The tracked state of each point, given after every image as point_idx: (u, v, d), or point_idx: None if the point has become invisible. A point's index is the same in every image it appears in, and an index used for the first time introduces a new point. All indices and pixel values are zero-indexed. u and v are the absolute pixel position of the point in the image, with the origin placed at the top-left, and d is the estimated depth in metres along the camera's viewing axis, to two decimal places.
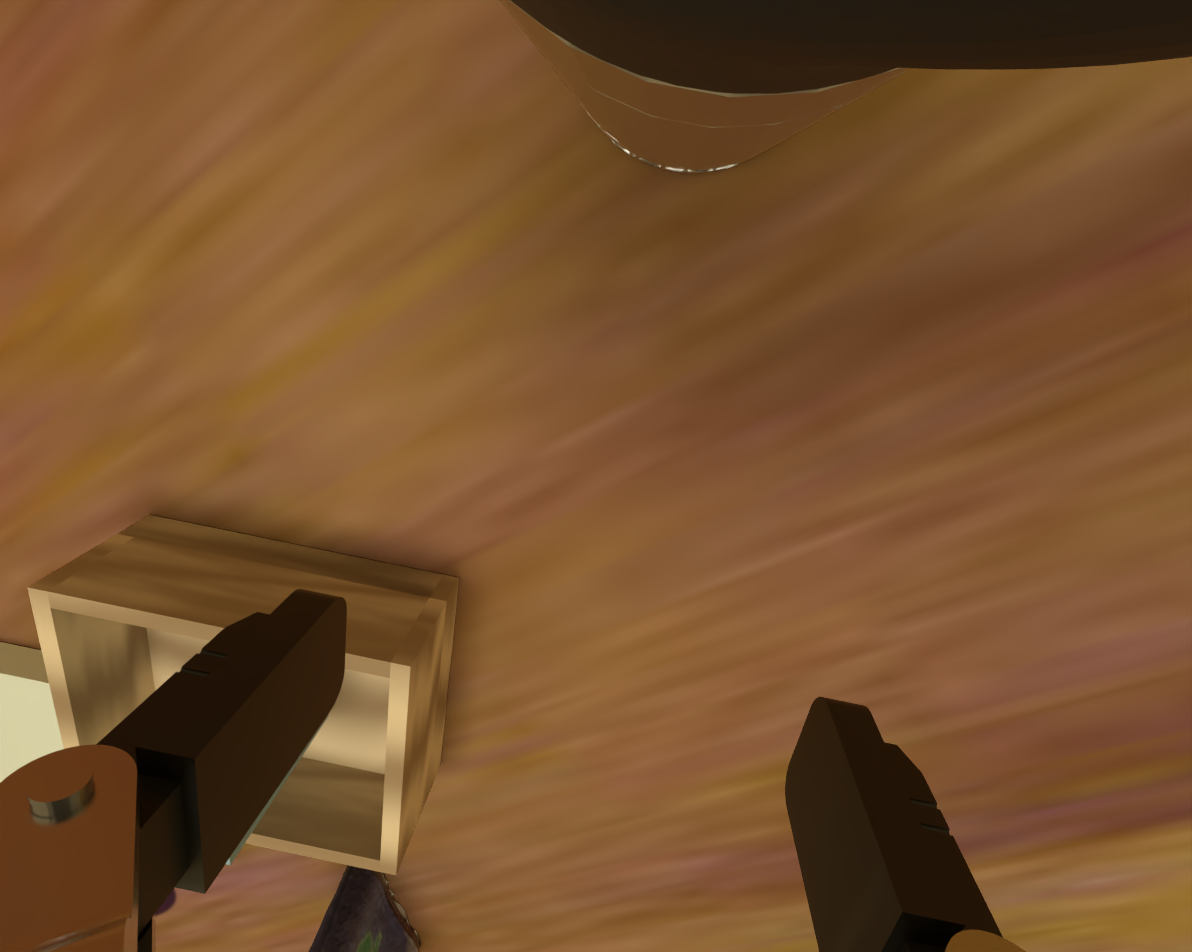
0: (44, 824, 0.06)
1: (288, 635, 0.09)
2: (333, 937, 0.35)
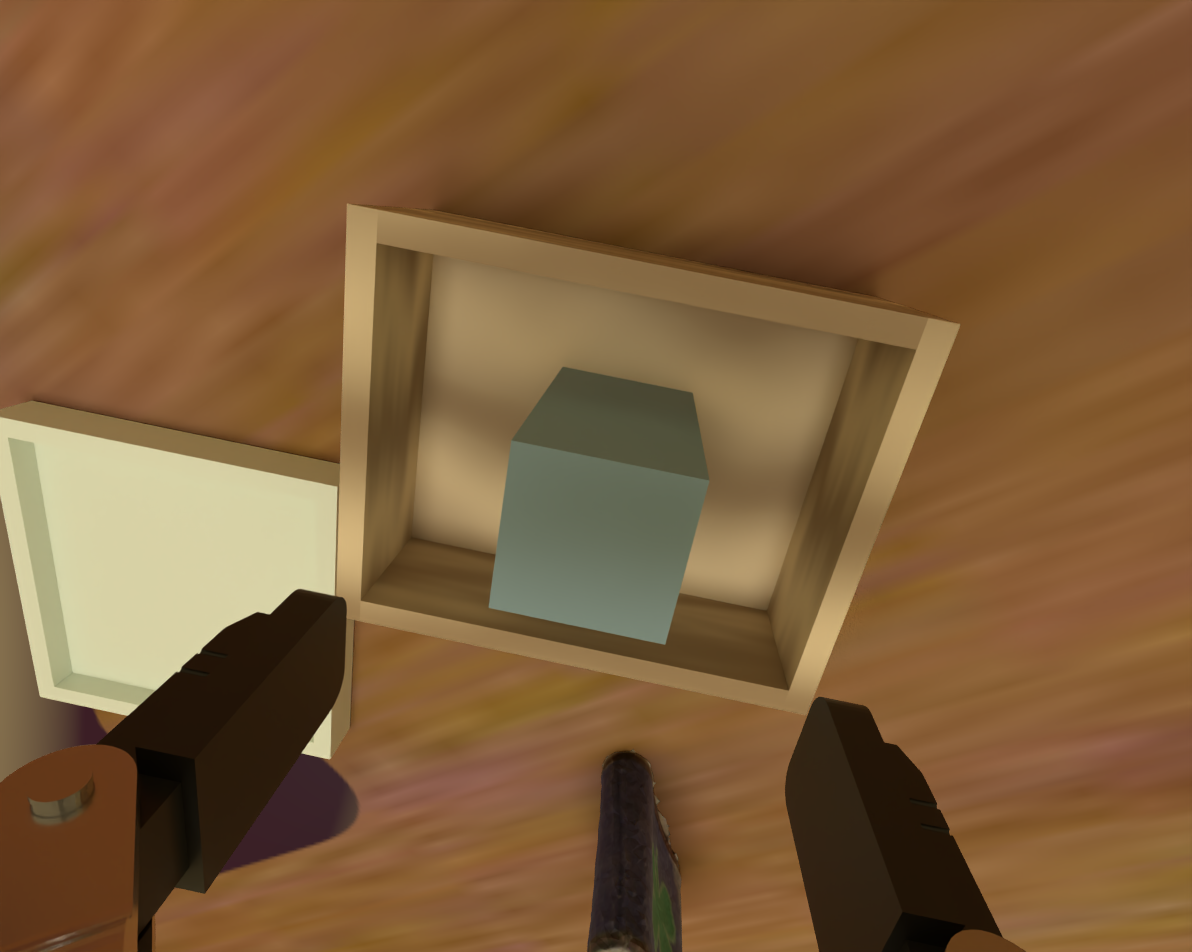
0: (44, 824, 0.06)
1: (288, 635, 0.09)
2: (631, 838, 0.26)
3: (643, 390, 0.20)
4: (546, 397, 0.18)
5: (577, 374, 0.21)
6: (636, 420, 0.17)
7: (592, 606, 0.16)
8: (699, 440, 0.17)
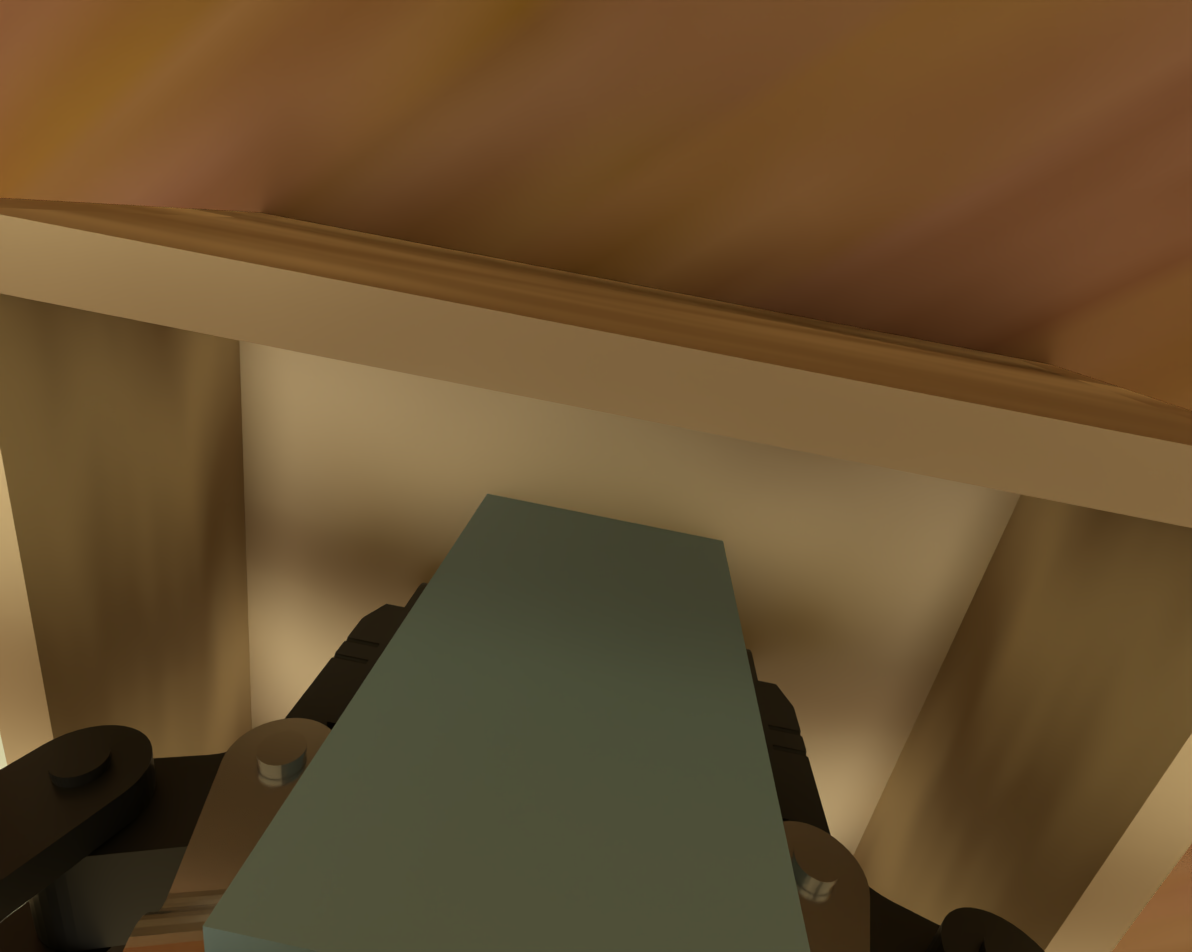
0: (277, 786, 0.07)
1: None
2: None
3: (632, 549, 0.11)
4: (417, 616, 0.08)
5: (510, 514, 0.11)
6: (613, 681, 0.08)
7: None
8: (762, 752, 0.07)
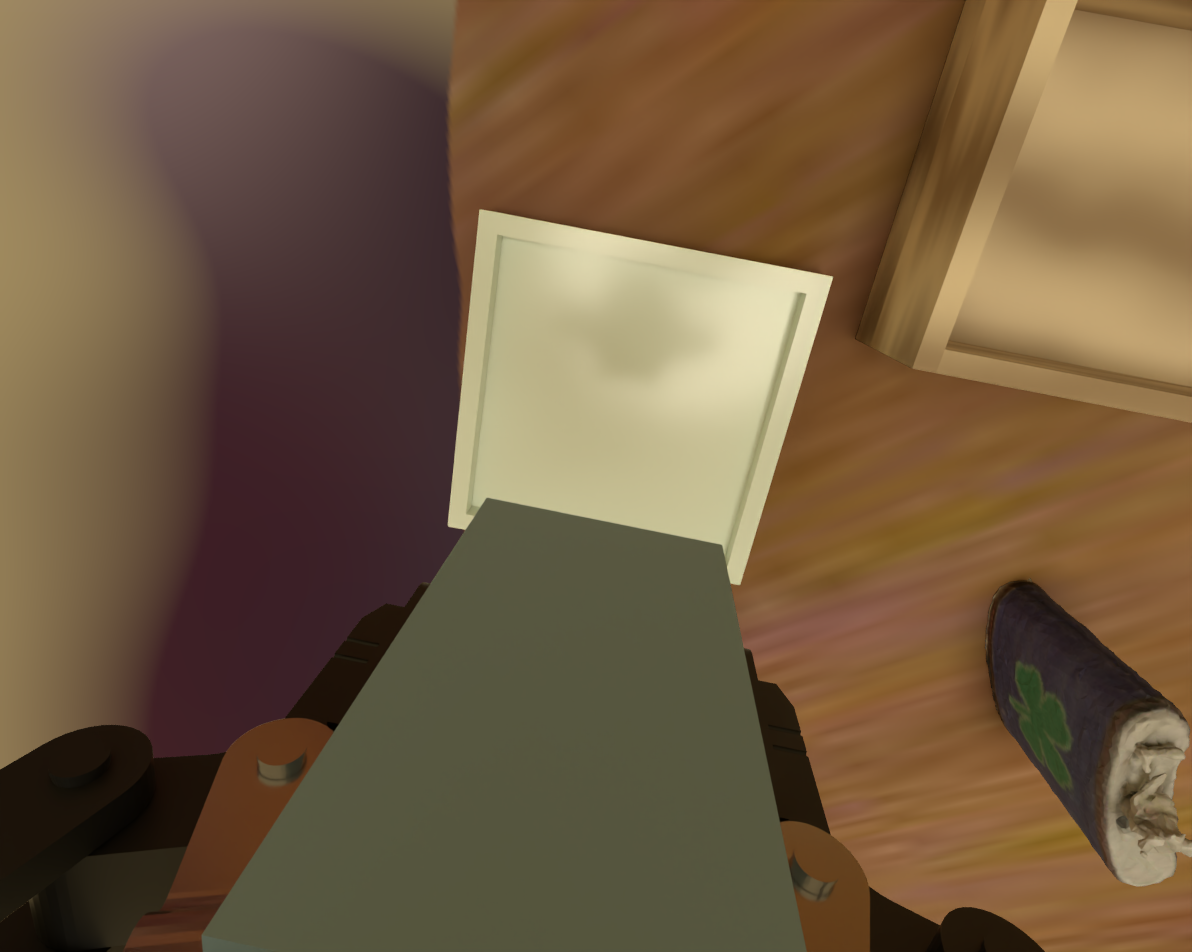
0: (276, 786, 0.07)
1: None
2: (1093, 637, 0.26)
3: (632, 553, 0.11)
4: (416, 622, 0.08)
5: (509, 518, 0.11)
6: (612, 687, 0.08)
7: None
8: (761, 759, 0.07)
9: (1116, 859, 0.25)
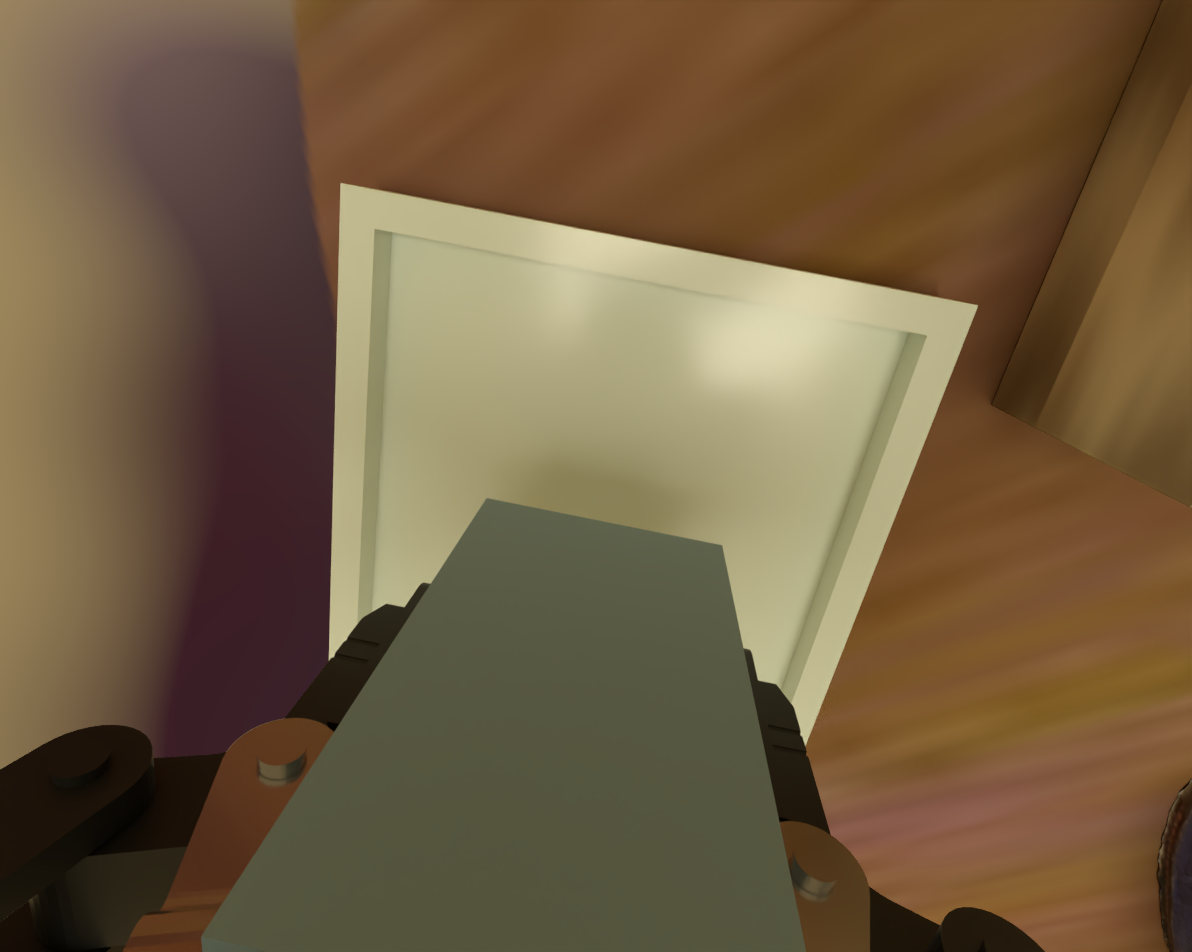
0: (277, 786, 0.07)
1: None
2: None
3: (631, 553, 0.11)
4: (416, 623, 0.08)
5: (509, 519, 0.11)
6: (612, 687, 0.08)
7: None
8: (760, 759, 0.07)
9: None
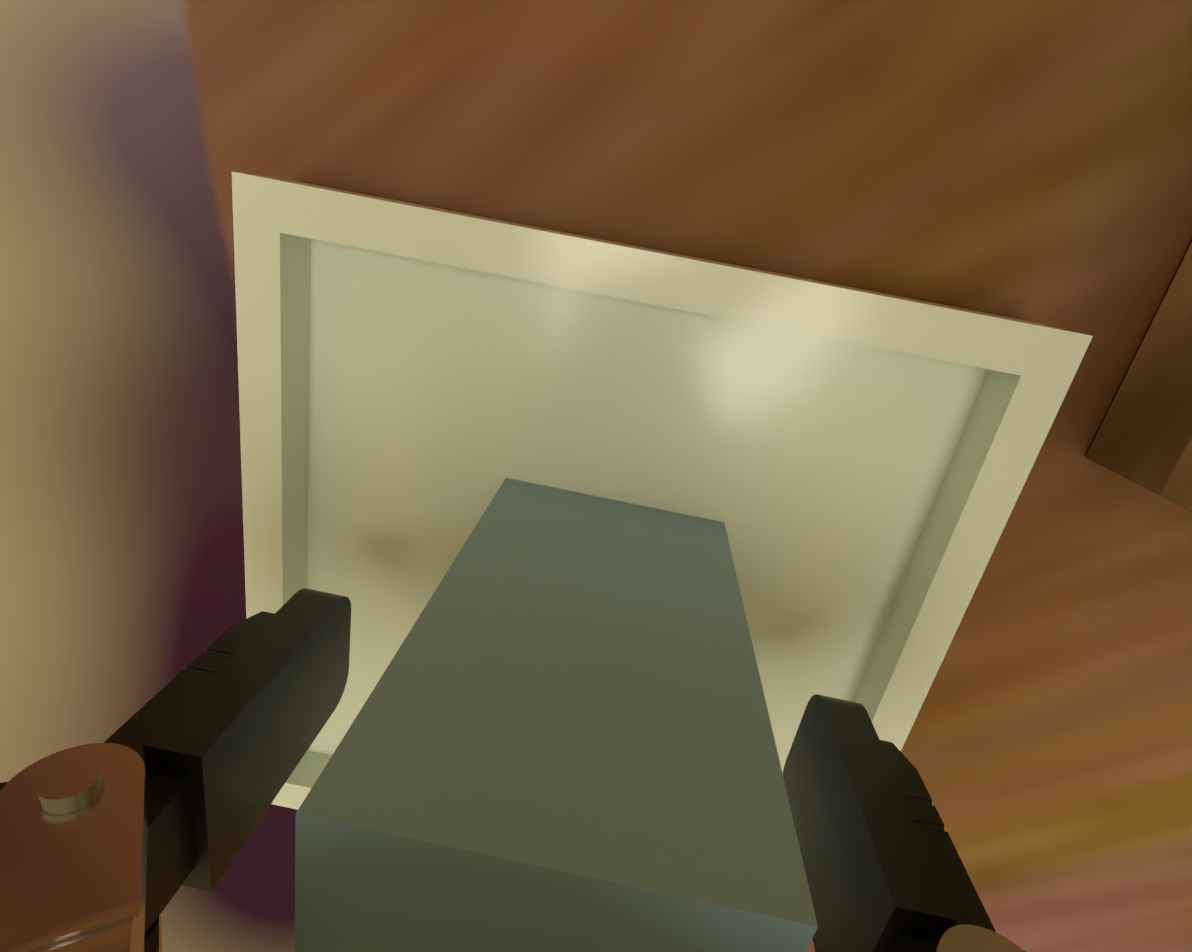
0: (53, 822, 0.06)
1: (293, 634, 0.09)
2: None
3: (641, 528, 0.12)
4: (451, 581, 0.09)
5: (528, 496, 0.12)
6: (627, 637, 0.09)
7: None
8: (759, 697, 0.08)
9: None
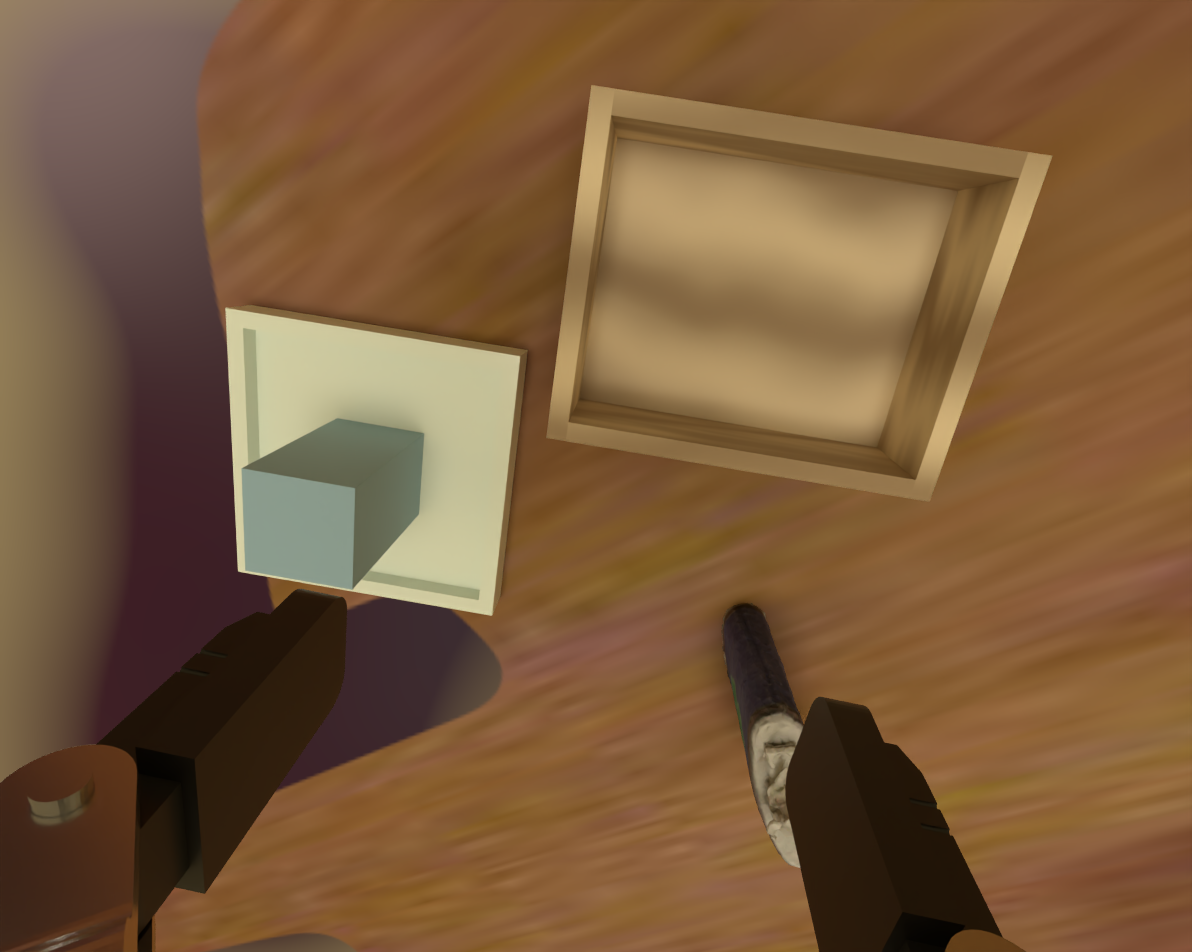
0: (44, 824, 0.06)
1: (288, 635, 0.09)
2: (767, 653, 0.30)
3: (383, 433, 0.31)
4: (297, 440, 0.28)
5: (342, 423, 0.31)
6: (349, 453, 0.28)
7: (305, 567, 0.26)
8: (382, 465, 0.27)
9: (778, 845, 0.29)
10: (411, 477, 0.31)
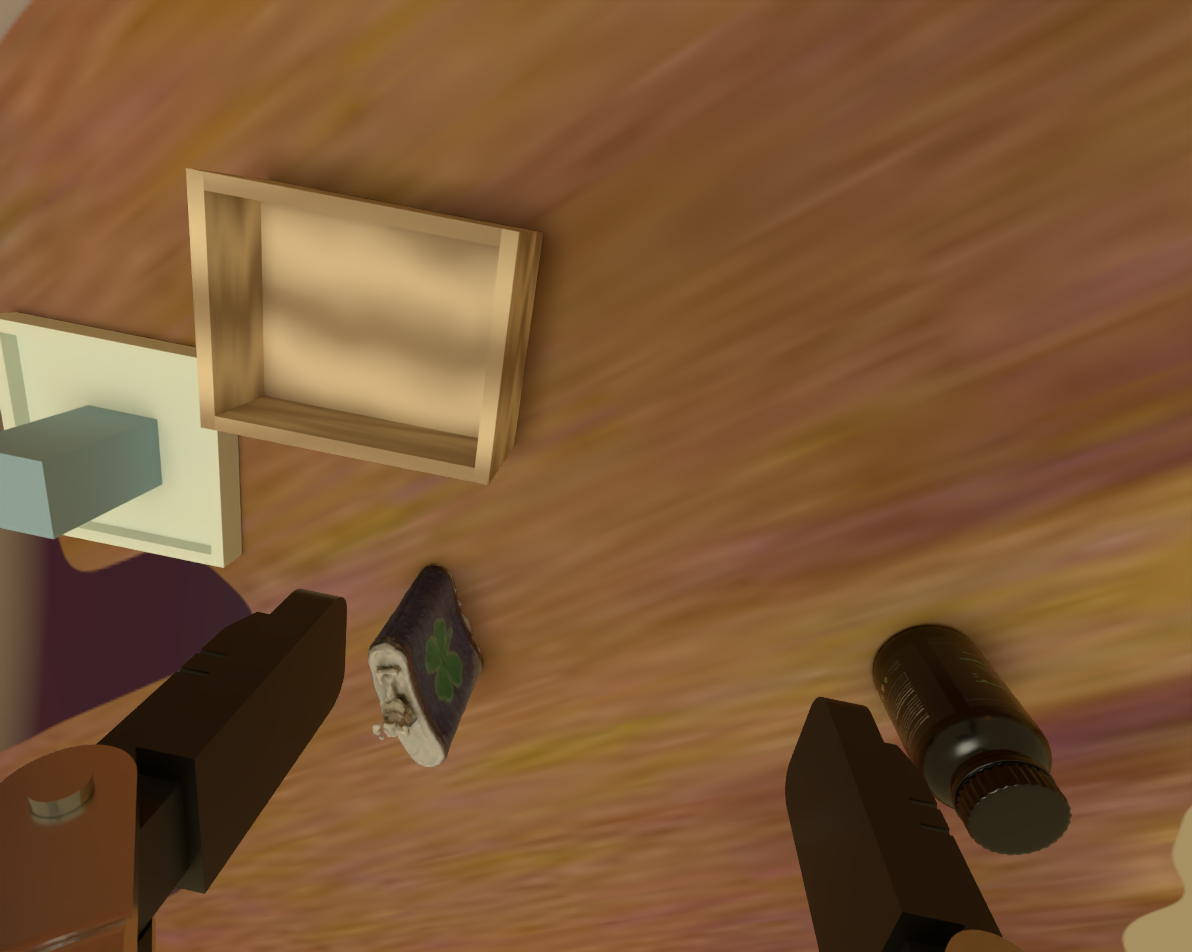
0: (44, 824, 0.06)
1: (288, 635, 0.09)
2: (416, 601, 0.39)
3: (118, 418, 0.39)
4: (30, 423, 0.36)
5: (88, 409, 0.39)
6: (67, 434, 0.36)
7: (16, 520, 0.34)
8: (86, 444, 0.35)
9: (405, 747, 0.37)
10: (141, 454, 0.39)
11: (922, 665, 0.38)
